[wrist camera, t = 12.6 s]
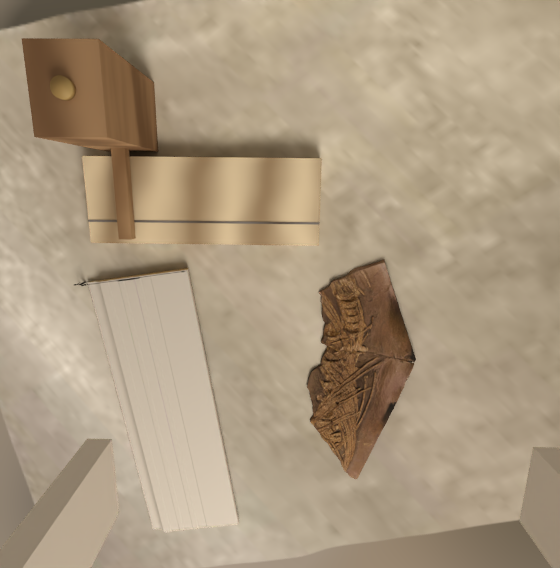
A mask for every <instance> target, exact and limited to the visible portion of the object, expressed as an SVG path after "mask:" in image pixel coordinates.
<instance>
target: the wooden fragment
mask: <svg viewBox="0 0 560 568" xmlns="http://www.w3.org/2000/svg"><path fill="white" fill-rule="evenodd" d="M319 294H320V295H321V303H322V307H323V310H322V317H323V321H324V322H325V326H324V327H325V329H324V331H323V338H322V341H321V343H323V344H325V345H327V348H326V350H325V353H324V355H323V357H322V361H321V365H319V366H318V367H317V368H315V369H314V370H313V371H312V372H311V374H310V377H309V380H308V385H307V388H308V389H309V392H310V397H311V400H312V404H313V416H312V417H311V419H310V422H311V423H312V424H313V425H314V427H315V428H316V429H317V430H318V432H319V433H320V435H321V437H322V438H323V439H324V441H325V442H327V443H328V444H329V446H330V448H331V450H332V451H333V452H334V454H335V455H336V456H337V457H338V459H339V460H340V461H341V465H342V467H343V468H344V471H345V472H347V473H348V475H349V476H350V477H351V478H354V479H357V478H358V476H359V474H360V472H361V470H362V468H363V466H364V464H365V463H366V461H367V459H368V457H369V455H370V453H371V451H372V449H373V447H374V445H375V443H376V441H377V439H378V437H379V435H380V433H381V431H382V429H383V428H384V426H385V424H386V422H387V420H388V418H389V416H390V414H391V412H392V410H393V409H394V406H395V404H396V402H397V400H398V398H399V396H400V394H401V391H402V389H403V388H404V385H405V382H406V380H407V378H408V377H409V375H410V373H411V371H412V369H413V366H414V363H412V361H413V362H415V360H416V358H415V355H414V352H413V350H412V346H411V343H410V341H409V337H408V334H407V331H406V328H405V324H404V322H403V318H402V315H401V312H400V309H399V306H398V302H397V300H396V296H395V294H394V290H393V288H392V284H391V282H390V277H389V274H388V272H387V268H386V265H385V262H384V260H382V261H379V262H376V263H373V264H369V265H366V266H361V267H357V268H354V269H353V270H351V271H350V272H349V273H348V275H346V276H344V277H342V278H339V279H334V280H333V281H332V282H331V284H330V286H329V287H327V288H325V289H323V290H321V291H320V292H319ZM408 360H410V361H411V363H410V362H408Z"/></svg>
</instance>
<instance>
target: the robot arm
mask: <svg viewBox="0 0 560 568" xmlns="http://www.w3.org/2000/svg"><path fill="white" fill-rule="evenodd" d="M118 514H119V505H118V495H117V486H116V476H115V466H114V457H113V447H112V439H87V440H86V441H85V442H84V444H83V445H82V446H81V448H80V449H79V450H78V451H77V453H76V454H75V455H74V456H73V458H72V459H71V460H70V461H69V463H68V464H67V465H66V467H65V468H64V469H63V470H62V472H61V473H60V474H59V475H58V477H57V478H56V479H55V480H54V482H53V483H52V484H51V485H50V487H49V488H48V489H47V491H46V492H45V493H44V494H43V496H42V497H41V498H40V499H39V501H38V502H37V503H36V504H35V506H34V507H33V508H32V510H31V511H30V512H29V514H28V515H27V516H26V517H25V518H24V520H23V521H22V522H21V523H20V525H19V526H18V527H17V529H16V530H15V531H14V533H13V534H12V535H11V536H10V537H9V539H8V540H7V541H6V543H5V544H4V545H3V546H2V548H1V549H0V568H91V566H92V565H93V563H94V561H95V559H96V557H97V555H98V553H99V551H100V549H101V547H102V545H103V543H104V541H105V539H106V537H107V535H108V533H109V531H110V529H111V528H112V526H113V524H114V522H115V520H116V518H117V516H118ZM520 523H521V524H522V525H523V527H524V528H525V530H526V531H527V533H528V534H529V535H530V537H531V538H532V540H533V541H534V543H535V544H536V545H537V547H538V548H539V550H540V551H541V553H542V554H543V556H544V557H545V558H546V560H547V561H548V563H549V564H550V565H551V567H552V568H560V449H559V448H546V447H533V451H532V456H531V462H530V467H529V472H528V478H527V483H526V488H525V494H524V499H523V505H522V510H521V515H520Z"/></svg>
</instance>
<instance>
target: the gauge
mask: <svg viewBox="0 0 560 568" xmlns="http://www.w3.org/2000/svg"><path fill="white" fill-rule="evenodd" d="M22 45H23V52H24V60H25V68H26V75H27V83H28V91H29V98H30V106H31V114H32V122H33V129H34V137H38V138H43V139H48V140H53V141H58V142H63V143H68V144H73V145H78V146H83V147H89V148H94V149H99V150H104V151H111V157H112V168H113V180H114V191H115V203H116V214H117V226H118V237H119V239H125V240H132V239H135V238H136V235H135V222H134V209H133V196H132V183H131V170H130V157H129V151H158V142H157V125H156V108H155V92H154V82H153V81H151V80H150V79H149V78H148V77H146V76H145V75H144V74H142V73H141V72H140V71H139V70H137V69H136V68H135V67H134V66H132V65H131V64H130V63H128V62H127V61H126V60H125V59H123V58H122V57H121V56H120V55H118V54H117V53H116V52H114V51H113V50H112V49H111V48H109V47H108V46H107V45H106V44H104V43H103V42H102V41H100V40H99V39H22Z"/></svg>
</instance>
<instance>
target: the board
mask: <svg viewBox="0 0 560 568" xmlns="http://www.w3.org/2000/svg"><path fill="white" fill-rule="evenodd" d="M129 157H130V170H131V183H132V196H133V209H134V222H135V235H136V238H135V239H132V240H125V239H119V237H118V226H117V214H116V203H115V191H114V180H113V168H112V157H111V156H82V161H83V171H84V180H85V190H86V199H87V209H88V219H89V220H88V221H89V228H90V238H91V243H158V244H238V245H317V246H319V220H320V190H321V160H322V158H238V157H135V156H129Z"/></svg>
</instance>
